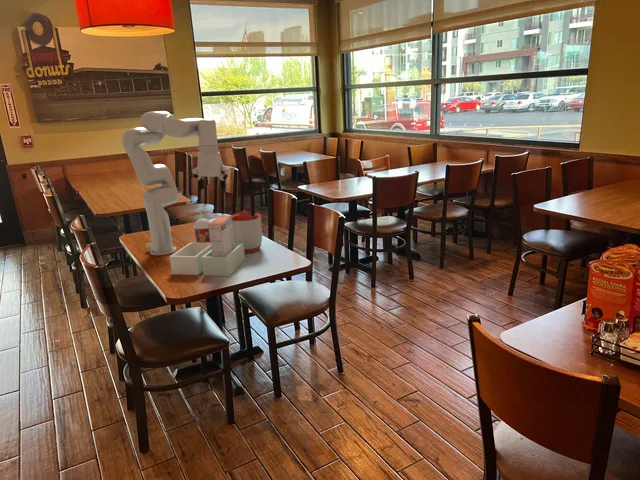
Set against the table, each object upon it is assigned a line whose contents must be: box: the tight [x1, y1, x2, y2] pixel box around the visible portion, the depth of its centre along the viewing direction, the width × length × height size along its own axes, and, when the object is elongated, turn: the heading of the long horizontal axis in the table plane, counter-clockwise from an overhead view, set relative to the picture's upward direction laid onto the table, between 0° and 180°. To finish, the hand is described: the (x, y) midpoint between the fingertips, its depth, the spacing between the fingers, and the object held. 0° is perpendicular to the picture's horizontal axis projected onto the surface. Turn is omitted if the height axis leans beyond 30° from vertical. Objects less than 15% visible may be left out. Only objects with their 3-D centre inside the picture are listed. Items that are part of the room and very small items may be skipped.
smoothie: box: [193, 212, 211, 243], centre depth 222 cm, size 8×8×20 cm
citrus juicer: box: [230, 209, 263, 254], centre depth 224 cm, size 16×17×20 cm
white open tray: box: [168, 241, 212, 276], centre depth 206 cm, size 12×20×8 cm, turn 169°
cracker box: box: [208, 214, 235, 257], centre depth 200 cm, size 14×6×21 cm, turn 173°
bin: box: [202, 243, 246, 277], centre depth 203 cm, size 11×20×8 cm, turn 169°
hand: (212, 189), depth 202 cm, fingers open, 9 cm apart
